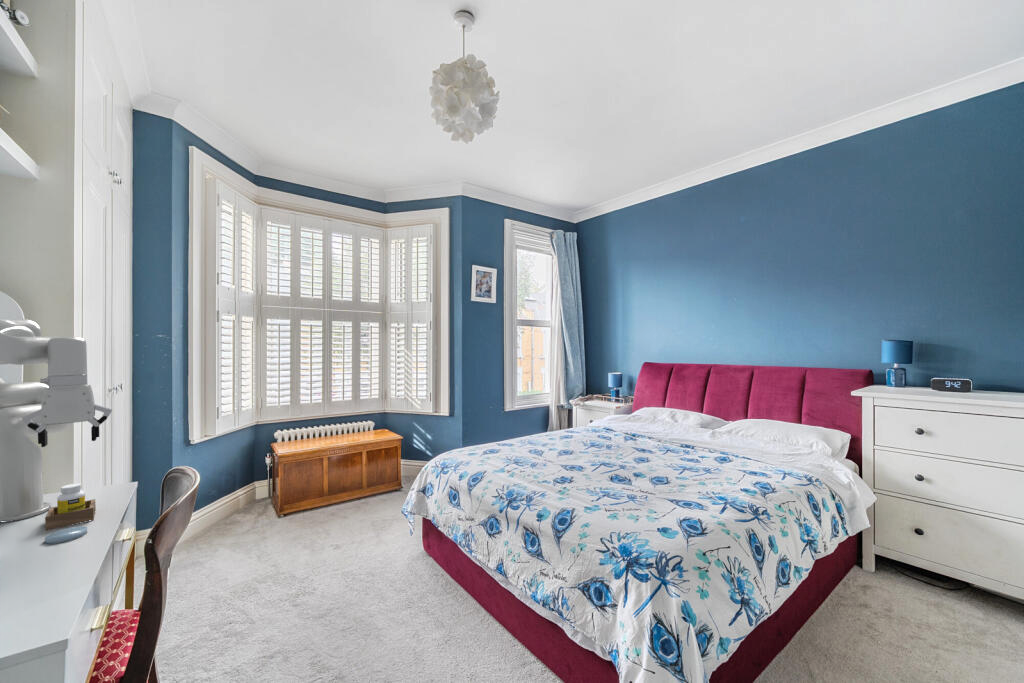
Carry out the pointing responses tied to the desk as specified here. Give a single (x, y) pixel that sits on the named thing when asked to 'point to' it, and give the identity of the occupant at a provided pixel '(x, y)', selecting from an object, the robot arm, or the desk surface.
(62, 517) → the walnut holder
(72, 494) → the supplement bottle
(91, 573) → the desk surface
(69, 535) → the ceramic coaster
